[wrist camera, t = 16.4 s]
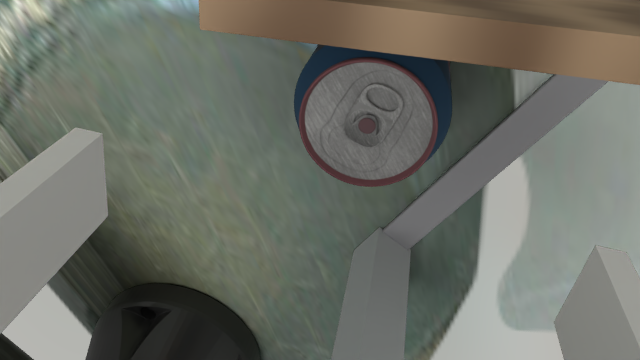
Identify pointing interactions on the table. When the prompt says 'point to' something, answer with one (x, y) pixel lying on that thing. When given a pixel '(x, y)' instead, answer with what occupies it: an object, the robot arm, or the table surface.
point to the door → (455, 30)
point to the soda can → (372, 112)
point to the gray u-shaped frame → (430, 210)
